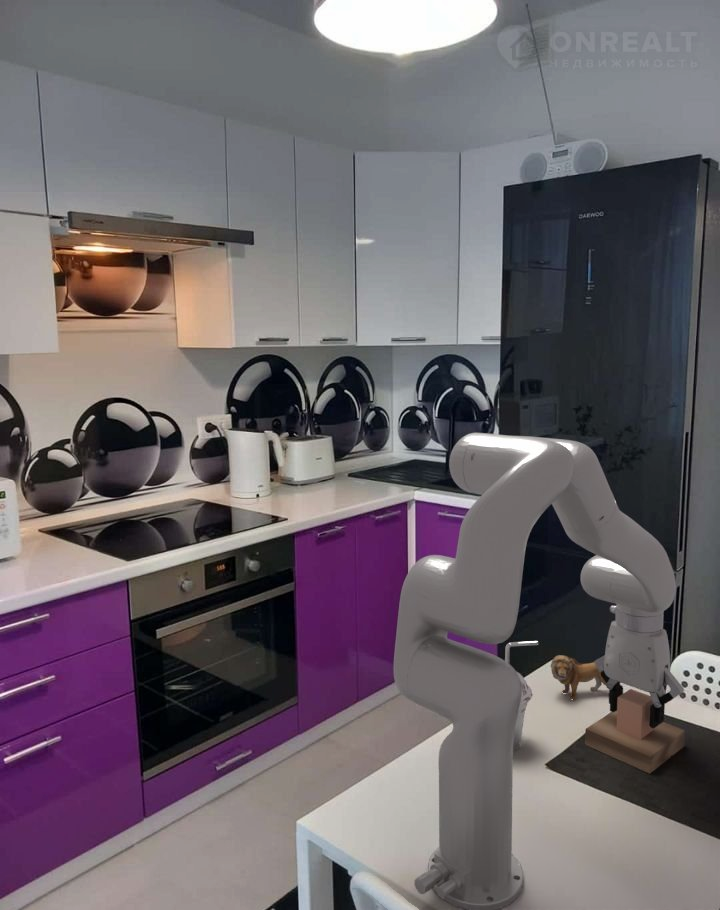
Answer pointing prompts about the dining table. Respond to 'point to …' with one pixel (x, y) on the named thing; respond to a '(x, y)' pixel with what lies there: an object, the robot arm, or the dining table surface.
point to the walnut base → (635, 743)
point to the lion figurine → (575, 674)
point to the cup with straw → (525, 695)
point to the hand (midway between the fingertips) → (635, 716)
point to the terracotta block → (634, 713)
